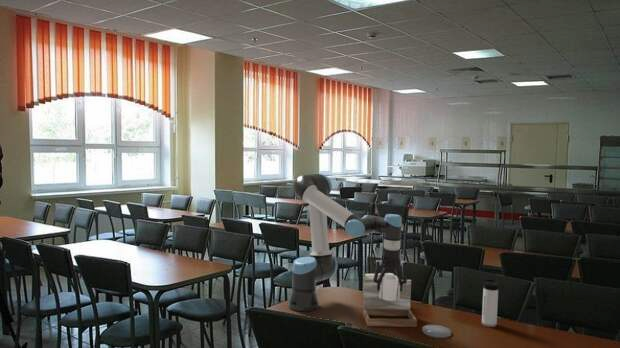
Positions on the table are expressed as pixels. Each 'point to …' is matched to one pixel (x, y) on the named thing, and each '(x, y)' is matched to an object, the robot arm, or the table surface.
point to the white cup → (389, 287)
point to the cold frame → (387, 306)
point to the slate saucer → (436, 331)
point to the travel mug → (490, 303)
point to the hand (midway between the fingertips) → (388, 297)
